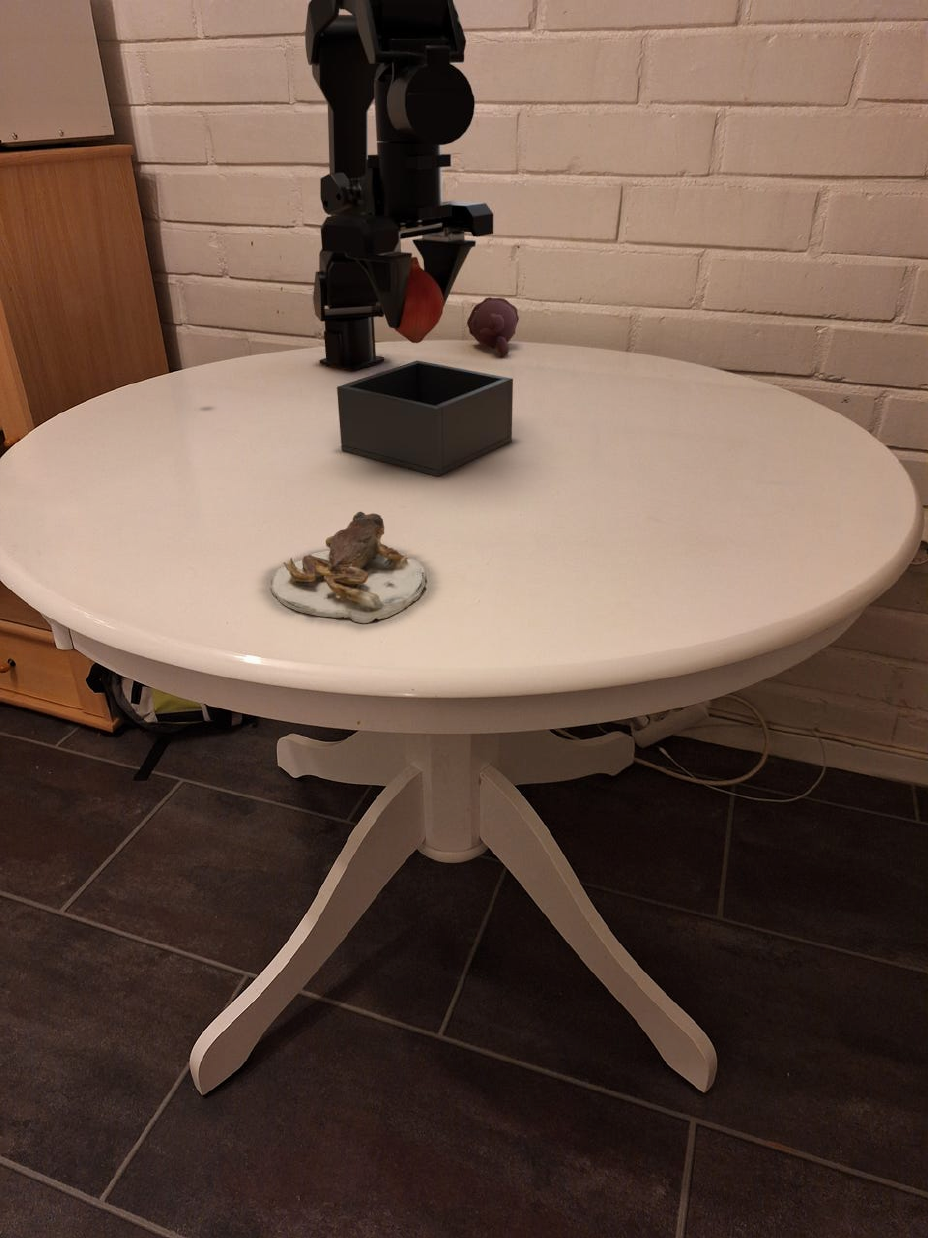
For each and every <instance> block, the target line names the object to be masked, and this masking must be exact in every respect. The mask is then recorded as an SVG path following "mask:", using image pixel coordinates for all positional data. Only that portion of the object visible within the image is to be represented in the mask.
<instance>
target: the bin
mask: <svg viewBox="0 0 928 1238" xmlns="http://www.w3.org/2000/svg"><path fill="white" fill-rule="evenodd" d="M513 392H514V378H513V377H507V376H501V375H495V374H490V373H485V372H480V371H475V370H470V369H465V368H459V367H454V366H450V365H449V366H448V365H443V364H438V363H433V362H427V361H423V360H417V359H416V360H414V361H411V362H408V363H405V364H402V365H399V366H395V367H393V368H390V369H387V370H384V371H381V372H378V373H375V374H372V375H368V376H365V377H363V378H359V379H356V380H354V381H351V382H348V383H347V382H346V383H344V384H341V385H338V386H336V393H337V406H338V407H337V408H338V418H339V433H340V448H341V451H343V452H347V453H350V454H353V455H358V456H361V457H365V458H369V459H372V460H376V461H380V462H383V463H387V464H389V465H395V466H398V467H402V468H405V469H409V470H413V471H416V472H420V473H424V474H427V475H431V476H435V477H440V476H442V475H444V474H447V473H449V472H451V471H452V470H454V469H457V468H460V466H463V465H465V464H467V463H469V462H472V461H474V460H476V459H477V458H480V457H481V456H484V455H486V454H488V453H490V452H492V451H494V450H496V449H499V448H501V447H503V446H504V445H506V444H508V443H510V442H512V440H513V403H514V401H513V398H514V393H513Z"/></svg>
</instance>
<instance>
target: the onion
mask: <svg viewBox="0 0 928 1238" xmlns="http://www.w3.org/2000/svg"><path fill="white" fill-rule="evenodd" d="M443 306H444V307H445V305H444V302H443V295H442V292H441V289H440V287H439V286H438V284H437V282H436V281H435V280H434V279H433V277H432V276H431V275H430V274H428V273H427V272H426V271H424V268H423V267H421V266H420V262H419V259H418V257H417V256H412V259H411V265H410V272H409V278H408V284H407V291H406V298H405V304H404V311H403V316H402V320H401V324H400V327H399V328H397V329H395V328H393V329H394V330H395V331H396V332H397V333H398V334H400V335H401V336H402V337H403V338H405V339H406V340H408V341H409V342H410V343H412V344H420V343H421V342H423V340H424V339H425V338H426V336H428V335H429V333H430V332H431V331H433V329H434V328H435V327H436V326H437V325H438V323H439V322H440V320H441V318H442V315H443V313H444V307H443Z"/></svg>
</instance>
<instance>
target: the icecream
mask: <svg viewBox="0 0 928 1238" xmlns="http://www.w3.org/2000/svg"><path fill="white" fill-rule="evenodd" d="M519 320H520V317H519V315H518V308H517V307H516V306H515V305H513V304H511V303H510V302H509V301H508V300H507V299H505V298H502V297H491V296H489V297H485V298H484V299H483V301H481V302H479V303H477V304H475V306H474V307H473V308H472V310H471V312H470V315H469V317H468V319H467V322H466V325H467V327H468V331H469V334H470V335H471V336H472V337H474V339H475V340H476V341H477V342H478V343H479V344H481V345H483V346H487V347H489V348H492V349H496V350H497V353H498V354H499V356H500V357H502V358H503V357H507V355H508V354H509V350H510V344H509V342H510V341H511V339H512V338H513V337H514V336H515V334H516V329H517V326H518V323H519Z"/></svg>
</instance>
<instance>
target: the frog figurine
mask: <svg viewBox="0 0 928 1238" xmlns="http://www.w3.org/2000/svg"><path fill="white" fill-rule="evenodd" d="M352 517H353V518H352V519H351V521H350V522H349V524H348V525H347V527H346V528H344V529H339V530H338V531H336V532H335V533H334V534H333V535H332V536H329V537H327V538H325V546H326V547H327V548H329V550H325V551H319V552H313V554H308V555H304V556H303V558H302V559H300V560H298V561H295V562H294V561H293V558H292V557H290V558H289V563H287V562H284V561H283V562H282V564H283V566H281V567H278V568H276V569H275V570H274V572H273V574H272V576H271V578H270V584H271V587H270V590H271V594H273V596H274V597H276V599H277V600H278V601H279V602H280V604H282V605H283V606H285V607H287V608H289V609H291V610H293V611H296V612H298V613H302V614H307V615H312V616H316V617H317V616H318V617H324V618H334V619H336V618H338V619H342V618H344V619H351V620H352V621H353V622H355V623H359V624H367V623H368V624H369V623H371V622H373V621H374V620H375V619H377V620H378V621H379V620H382V619H386V618H390V617H391V616H394V615H396V614H397V613H400V612H402V611H403V610H404V609H405V608H407V607H409V606H410V605H411V604H412V603H413V602H416V601H417V600H418V599H419V598H421V596H422V591H423V590H424V588H425V587H426V585H427V582H426V581H427V573H426V571H425V567H424V566H423V565H422V564H421V563H419V562H418V560H416V559H407V557H408V555H407V554H404V553H401V552H399V551H398V550H397V549H394V548H392V547H388V546H387V545H386V544H384V543H382V542H381V539H382V536H383V535H384V534H385V525H384V524H385V523H384V519H383V518H382V515H380V514H378V513H374V512H373V513H369V514H366V513H365V512H363V511H358V512H356V513H355V514H354V515H353V516H352Z"/></svg>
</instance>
